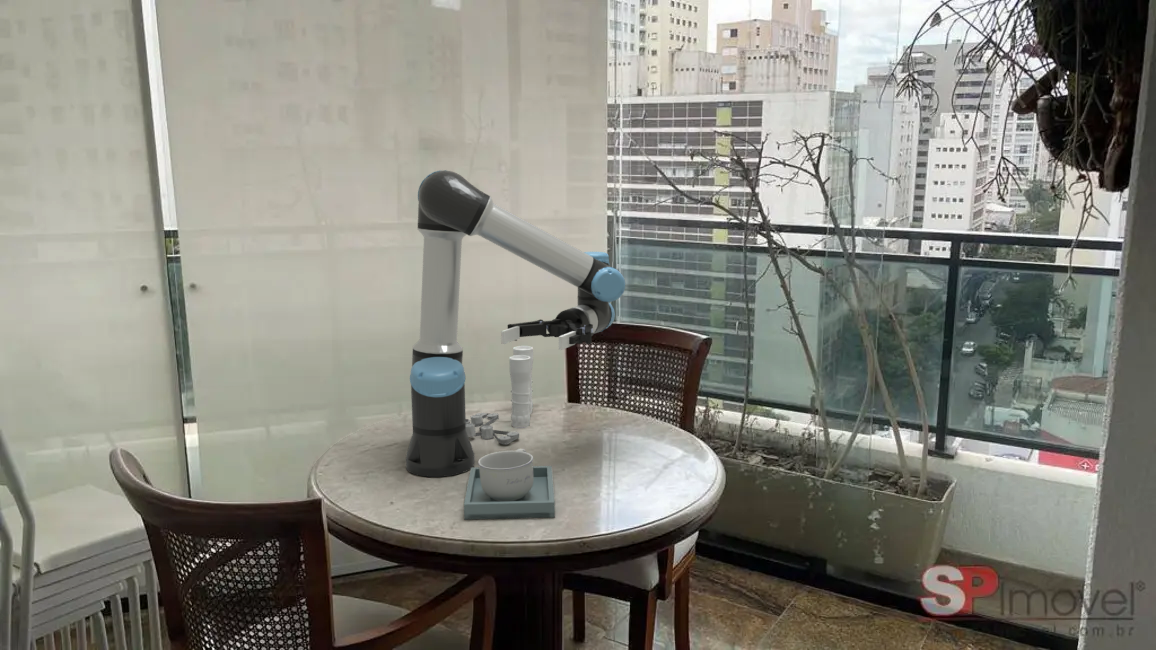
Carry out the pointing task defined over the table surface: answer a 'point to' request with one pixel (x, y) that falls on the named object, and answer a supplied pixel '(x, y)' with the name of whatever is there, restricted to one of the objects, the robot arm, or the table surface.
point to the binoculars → (521, 385)
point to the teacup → (506, 474)
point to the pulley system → (488, 428)
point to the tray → (529, 506)
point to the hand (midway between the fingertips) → (530, 340)
